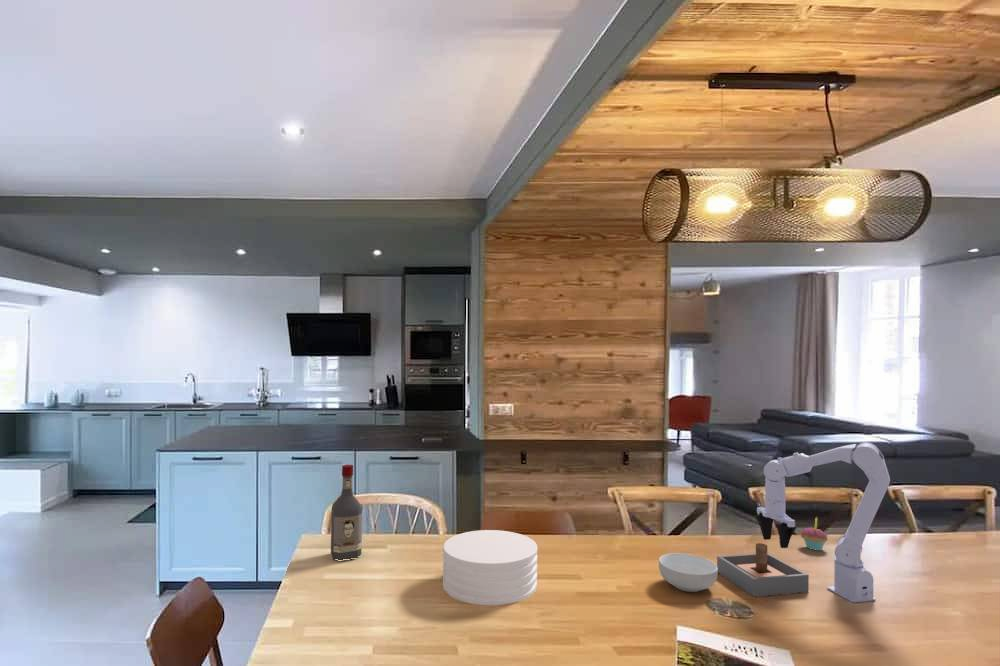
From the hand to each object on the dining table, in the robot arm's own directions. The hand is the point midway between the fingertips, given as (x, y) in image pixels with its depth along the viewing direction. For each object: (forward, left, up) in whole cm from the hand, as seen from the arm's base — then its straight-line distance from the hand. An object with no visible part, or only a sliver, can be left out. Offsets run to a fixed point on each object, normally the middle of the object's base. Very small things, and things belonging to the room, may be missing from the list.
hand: (775, 543), depth 174 cm
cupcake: (+20, -31, -11) cm, 38 cm away
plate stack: (+11, +89, -11) cm, 90 cm away
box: (-2, +7, -10) cm, 13 cm away
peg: (-2, +7, -9) cm, 12 cm away
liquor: (+41, +132, -11) cm, 138 cm away
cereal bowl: (-1, +31, -11) cm, 33 cm away
